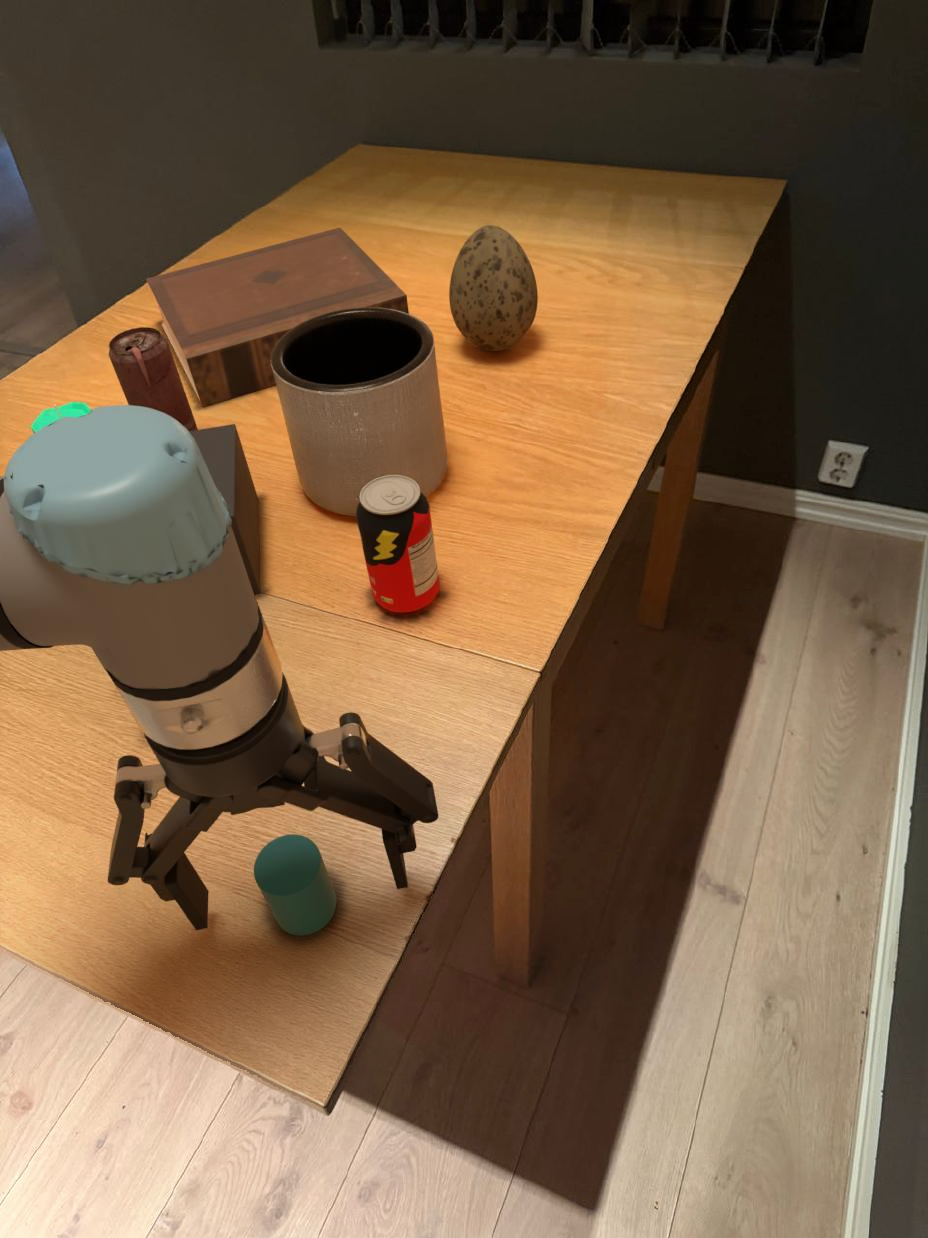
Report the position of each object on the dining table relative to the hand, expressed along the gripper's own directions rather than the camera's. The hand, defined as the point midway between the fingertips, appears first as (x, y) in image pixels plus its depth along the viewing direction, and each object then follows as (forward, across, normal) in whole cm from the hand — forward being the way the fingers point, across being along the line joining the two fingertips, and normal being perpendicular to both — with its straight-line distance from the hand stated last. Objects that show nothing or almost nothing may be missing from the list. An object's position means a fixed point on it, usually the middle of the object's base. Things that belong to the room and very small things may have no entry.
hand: (302, 890), depth 60 cm
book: (+2, +1, +83) cm, 83 cm away
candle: (+2, -20, +52) cm, 56 cm away
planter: (+2, +10, +48) cm, 49 cm away
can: (+2, -12, +59) cm, 60 cm away
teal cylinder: (+2, 0, 0) cm, 2 cm away
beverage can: (+2, +11, +29) cm, 31 cm away
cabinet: (+2, -9, +40) cm, 41 cm away
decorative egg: (+3, +28, +71) cm, 76 cm away
